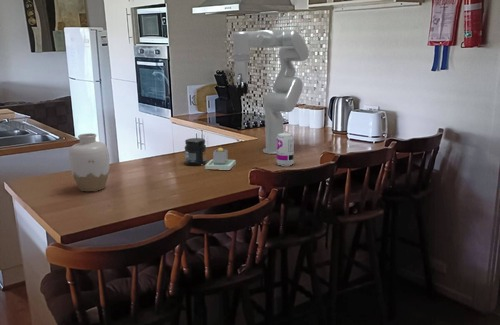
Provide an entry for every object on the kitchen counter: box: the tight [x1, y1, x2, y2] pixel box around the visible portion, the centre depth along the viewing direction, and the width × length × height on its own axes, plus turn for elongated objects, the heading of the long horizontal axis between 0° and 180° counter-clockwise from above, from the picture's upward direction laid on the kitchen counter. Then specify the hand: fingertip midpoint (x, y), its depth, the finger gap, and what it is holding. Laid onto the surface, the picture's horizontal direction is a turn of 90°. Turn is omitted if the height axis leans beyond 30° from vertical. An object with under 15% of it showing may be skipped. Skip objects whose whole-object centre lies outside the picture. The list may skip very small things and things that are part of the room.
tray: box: [204, 159, 237, 170], centre depth 232 cm, size 12×12×2 cm
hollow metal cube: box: [212, 148, 229, 166], centre depth 231 cm, size 6×6×8 cm
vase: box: [68, 133, 111, 192], centre depth 200 cm, size 16×16×23 cm
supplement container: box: [184, 137, 208, 166], centre depth 239 cm, size 10×10×12 cm
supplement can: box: [276, 132, 295, 167], centre depth 233 cm, size 8×8×15 cm
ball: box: [217, 147, 225, 152], centre depth 230 cm, size 3×3×3 cm
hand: (242, 94), depth 234 cm, fingers open, 9 cm apart
